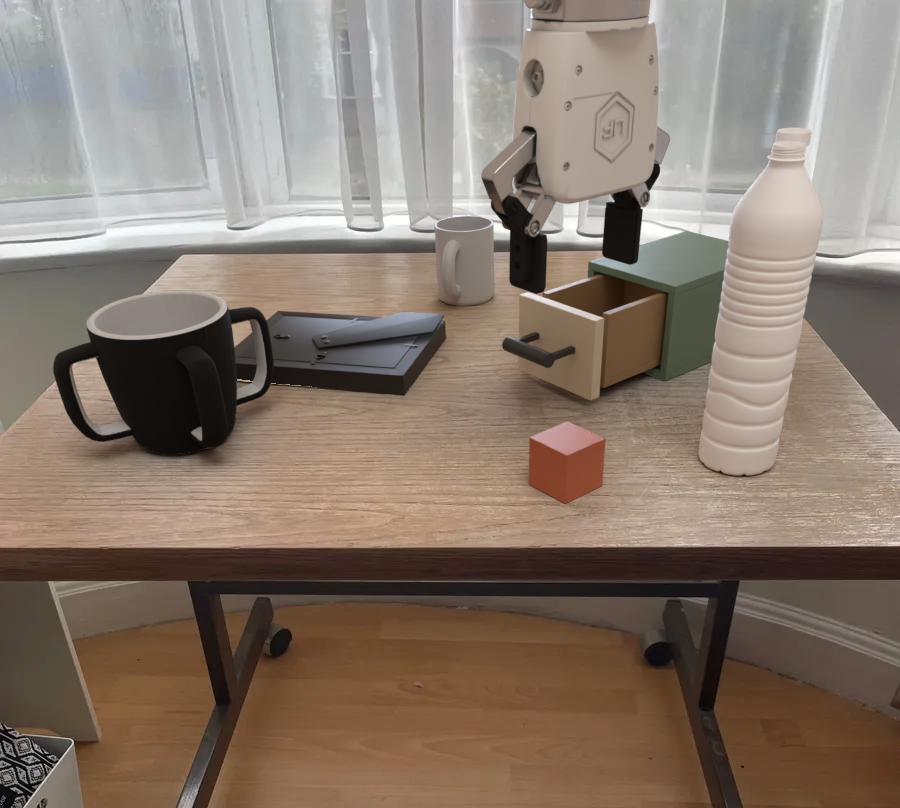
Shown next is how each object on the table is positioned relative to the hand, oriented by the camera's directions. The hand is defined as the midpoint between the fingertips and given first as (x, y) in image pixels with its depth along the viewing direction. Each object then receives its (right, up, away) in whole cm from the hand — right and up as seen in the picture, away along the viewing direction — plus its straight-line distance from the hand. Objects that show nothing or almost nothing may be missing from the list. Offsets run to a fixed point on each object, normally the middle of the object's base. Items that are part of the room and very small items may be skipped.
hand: (574, 274), depth 67 cm
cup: (-8, +13, +46) cm, 49 cm away
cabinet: (+15, +4, +32) cm, 35 cm away
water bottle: (+16, -12, +12) cm, 23 cm away
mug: (-35, -9, +19) cm, 40 cm away
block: (0, -15, +9) cm, 17 cm away
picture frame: (-22, +2, +33) cm, 40 cm away
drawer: (+5, -1, +25) cm, 26 cm away
